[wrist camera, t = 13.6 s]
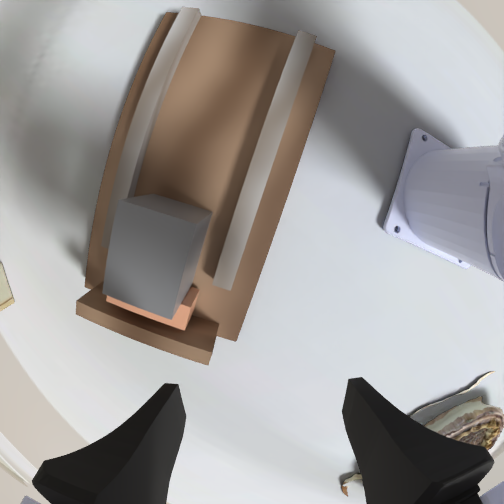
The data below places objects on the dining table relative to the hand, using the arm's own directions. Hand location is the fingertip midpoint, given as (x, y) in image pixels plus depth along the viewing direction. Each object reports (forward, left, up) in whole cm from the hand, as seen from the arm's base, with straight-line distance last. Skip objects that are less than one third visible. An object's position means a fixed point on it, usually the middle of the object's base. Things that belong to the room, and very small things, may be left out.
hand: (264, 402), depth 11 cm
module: (+7, -3, -8) cm, 11 cm away
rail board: (+7, -8, -9) cm, 14 cm away
